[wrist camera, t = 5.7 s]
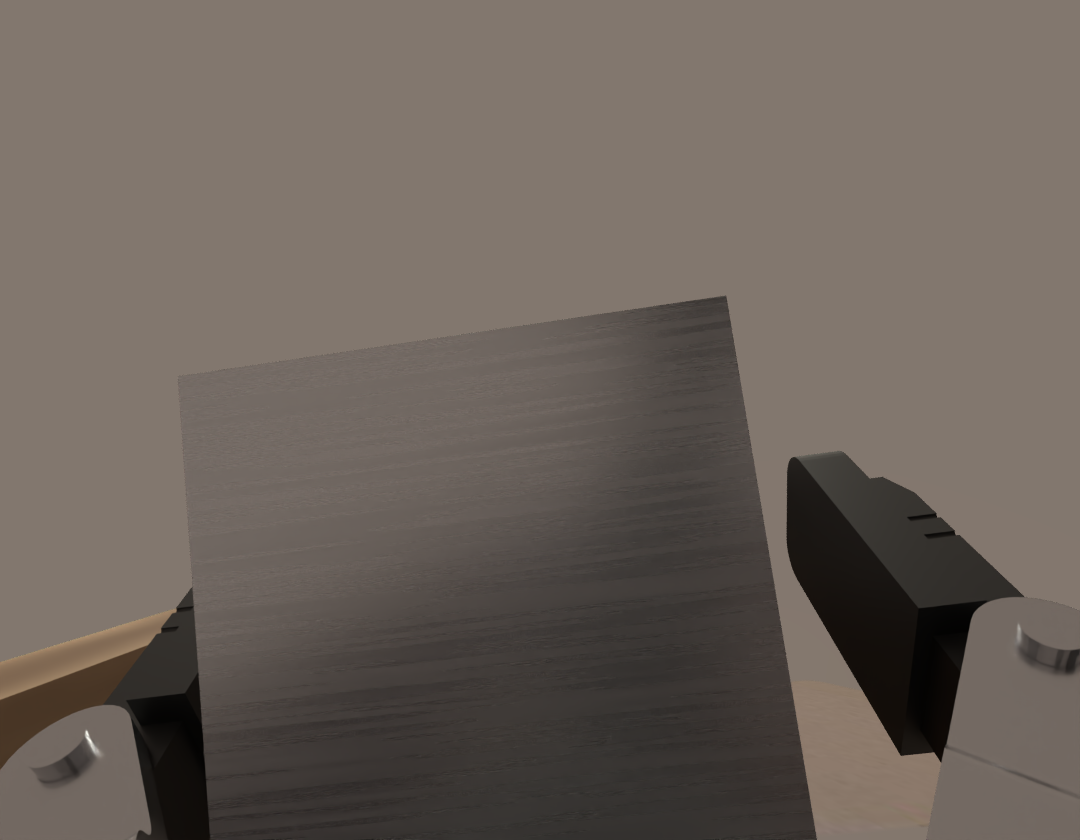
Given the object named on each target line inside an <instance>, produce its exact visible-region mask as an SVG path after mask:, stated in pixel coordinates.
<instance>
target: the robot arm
mask: <svg viewBox="0 0 1080 840" xmlns="http://www.w3.org/2000/svg"><path fill="white" fill-rule="evenodd" d="M787 548H788V554H789V558H790V562H791V566H792V569H793V571H794V574H795V576H796V577H797V580H798V581H799V583H800V585H801V586H802V588H803V590H804V592H805V593H806V595H807V597H808V598H809V600H810V602H811V603H812V605H813V607H814V609H815V610H816V612H817V614H818V615H819V617H820V619H821V621H822V622H823V624H824V626H825V627H826V629H827V631H828V632H829V634H830V636H831V638H832V639H833V641H834V643H835V644H836V646H837V648H838V650H839V651H840V653H841V655H842V656H843V658H844V660H845V661H846V663H847V665H848V667H849V668H850V670H851V672H852V673H853V675H854V677H855V678H856V680H857V682H858V683H859V685H860V687H861V689H862V690H863V692H864V694H865V696H866V697H867V699H868V701H869V702H870V704H871V706H872V707H873V709H874V711H875V713H876V714H877V716H878V718H879V719H880V721H881V723H882V724H883V726H884V728H885V730H886V731H887V733H888V735H889V736H890V738H891V740H892V742H893V743H894V745H895V747H896V748H897V750H898V752H899V753H900V755H901V756H904V755H913V754H922V753H932V752H935V754H936V756H937V757H938V759H939V760H940V762H941V767H940V772H939V777H938V782H937V787H936V792H935V798H934V803H933V808H932V813H931V818H930V823H929V828H928V833H927V839H926V840H1080V611H1079V610H1077V609H1074V608H1072V607H1069V606H1066V605H1063V604H1059V603H1055V602H1052V601H1047V600H1042V599H1036V598H1027V597H1024V596H1023V595H1022V594H1021V593H1020V592H1019V591H1018V590H1017V589H1016V588H1015V587H1014V586H1013V585H1012V584H1011V583H1009V582H1008V581H1007V580H1006V579H1005V578H1004V577H1003V576H1002V575H1001V574H1000V573H999V572H998V571H997V570H996V569H995V568H994V567H993V566H992V565H990V564H989V563H988V562H987V561H986V560H985V559H984V558H983V557H982V556H981V555H980V554H979V553H978V552H977V551H976V550H975V549H973V548H972V547H971V546H970V545H969V544H968V543H967V542H966V541H965V540H964V539H963V538H962V537H961V536H960V535H957V536H956V535H955V530H953V529H952V528H951V527H950V526H949V525H948V524H947V523H946V522H945V521H944V520H943V519H942V518H937V516H936V512H935V511H933V510H932V509H931V508H930V507H929V506H928V505H927V504H926V503H925V502H924V501H923V500H922V499H921V498H920V497H919V496H918V495H917V494H915V493H914V492H912V491H910V490H908V489H906V488H904V487H902V486H900V485H898V484H896V483H894V482H891V481H890V480H887V479H885V478H883V477H880V478H871V479H869V478H868V476H866V474H865V473H864V472H863V471H862V470H861V469H860V468H859V467H858V466H857V465H856V464H855V463H854V462H853V461H852V460H851V459H850V458H849V457H848V456H847V455H846V454H845V453H844V452H842V451H837V452H828V453H821V454H814V455H806V456H799V457H793V458H791V459H790V461H789V464H788V470H787ZM176 610H177V611H176V613H172V614H171V616H170V617H169V618H168V620H167V621H166V622H165V623H164V625H163V626H162V627H161V633H158V634H156V635H155V637H154V638H153V639H152V641H151V642H150V643H149V645H148V646H147V647H146V649H145V650H144V651H143V653H142V654H141V655H140V656H139V658H138V659H137V660H136V662H135V663H134V664H133V666H132V667H131V668H130V670H129V671H128V672H127V674H126V675H125V676H124V678H123V679H122V680H121V682H120V683H119V684H118V685H117V687H116V688H115V689H114V691H113V692H112V693H111V695H110V696H109V697H108V699H107V700H106V701H105V703H104V704H103V705H101V706H94V707H91V708H87V709H84V710H81V711H78V712H75V713H73V714H71V715H69V716H66V717H64V718H62V719H60V720H59V721H57V722H55V723H53V724H51V725H50V726H48V727H47V728H45V729H44V730H42V731H41V732H39V733H38V734H36V735H35V736H34V737H32V738H31V739H30V740H28V741H27V742H26V743H25V744H24V745H23V746H22V747H20V748H19V749H18V750H17V751H16V752H15V753H14V754H13V755H12V756H11V757H10V758H9V760H8V761H7V762H6V763H5V765H4V766H3V767H2V768H1V770H0V840H210V828H209V814H208V800H207V786H206V771H205V757H204V743H203V729H202V714H201V700H200V686H199V672H198V658H197V643H196V629H195V615H194V601H193V587H192V588H191V589H190V591H189V592H188V594H187V595H186V596H185V597H184V599H183V600H182V601H181V603H180V604H179V605H178V606H177V608H176Z"/></svg>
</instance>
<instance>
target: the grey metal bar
mask: <svg viewBox="0 0 1080 840" xmlns="http://www.w3.org/2000/svg"><path fill="white" fill-rule="evenodd" d="M178 387H179V402H180V415H181V430H182V444H183V458H184V473H185V486H186V501H187V515H188V530H189V543H190V556H191V557H190V558H191V571H192V586H193V601H194V615H195V629H196V643H197V658H198V672H199V686H200V700H201V714H202V729H203V743H204V757H205V771H206V786H207V800H208V814H209V828H210V840H817V838H816V832H815V826H814V820H813V814H812V808H811V802H810V796H809V790H808V784H807V778H806V772H805V766H804V760H803V754H802V748H801V742H800V736H799V730H798V724H797V718H796V712H795V706H794V700H793V694H792V688H791V682H790V676H789V670H788V664H787V658H786V652H785V646H784V640H783V634H782V628H781V622H780V616H779V610H778V604H777V598H776V592H775V586H774V580H773V574H772V568H771V562H770V557H769V550H768V544H767V538H766V532H765V526H764V520H763V514H762V508H761V502H760V496H759V490H758V484H757V478H756V472H755V466H754V460H753V454H752V448H751V442H750V436H749V430H748V424H747V418H746V412H745V406H744V400H743V394H742V388H741V382H740V376H739V370H738V364H737V358H736V352H735V346H734V340H733V334H732V328H731V322H730V316H729V310H728V304H727V298H726V296H721V297H714V298H707V299H701V300H694V301H687V302H680V303H673V304H666V305H660V306H653V307H646V308H639V309H633V310H625V311H619V312H612V313H605V314H598V315H592V316H585V317H578V318H571V319H564V320H557V321H551V322H544V323H537V324H530V325H523V326H517V327H510V328H504V329H497V330H490V331H483V332H476V333H469V334H462V335H456V336H449V337H442V338H436V339H428V340H422V341H415V342H409V343H401V344H395V345H388V346H381V347H374V348H368V349H361V350H354V351H347V352H340V353H333V354H327V355H320V356H313V357H306V358H299V359H292V360H286V361H279V362H273V363H265V364H258V365H252V366H245V367H239V368H231V369H224V370H218V371H211V372H205V373H197V374H191V375H184V376H178Z"/></svg>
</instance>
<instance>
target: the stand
mask: <svg viewBox="0 0 1080 840" xmlns="http://www.w3.org/2000/svg"><path fill="white" fill-rule="evenodd" d="M176 611H177V610H176V609H172V610H169V611H166V612H162V613H159V614H156V615H152V616H149V617H146V618H143V619H140V620H136V621H133V622H130V623H126V624H123V625H120V626H117V627H114V628H110V629H107V630H104V631H100V632H97V633H94V634H91V635H88V636H84V637H81V638H77V639H74V640H71V641H68V642H64V643H61V644H58V645H55V646H51V647H48V648H45V649H42V650H38V651H35V652H32V653H29V654H25V655H22V656H19V657H16V658H12V659H9V660H6V661H2V662H0V770H1V768H2V767H3V766H4V765H5V763H6V762H7V761H8V760H9V758H10V757H11V756H12V755H13V754H14V753H15V752H16V751H17V750H18V749H19V748H20V747H22V746H23V745H24V744H25V743H26V742H27V741H28V740H30V739H31V738H32V737H34V736H35V735H36V734H38V733H39V732H41V731H42V730H44V729H45V728H47V727H48V726H50V725H51V724H53V723H55V722H57V721H59V720H60V719H62V718H64V717H66V716H69V715H71V714H73V713H75V712H78V711H81V710H84V709H87V708H91V707H94V706H101V705H103V704H104V703H105V701H106V700H107V699H108V697H109V696H110V695H111V693H112V692H113V691H114V689H115V688H116V687H117V685H118V684H119V683H120V682H121V680H122V679H123V678H124V676H125V675H126V674H127V672H128V671H129V670H130V668H131V667H132V666H133V664H134V663H135V662H136V660H137V659H138V658H139V656H140V655H141V654H142V653H143V651H144V650H145V649H146V647H147V646H148V645H149V643H150V642H151V641H152V639H153V638H154V637H155V635H156V634H158V633H161V627H162V626H163V625H164V623H165V622H166V621H167V620H168V618H169V617H170V616H171V614H172V613H176Z"/></svg>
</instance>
